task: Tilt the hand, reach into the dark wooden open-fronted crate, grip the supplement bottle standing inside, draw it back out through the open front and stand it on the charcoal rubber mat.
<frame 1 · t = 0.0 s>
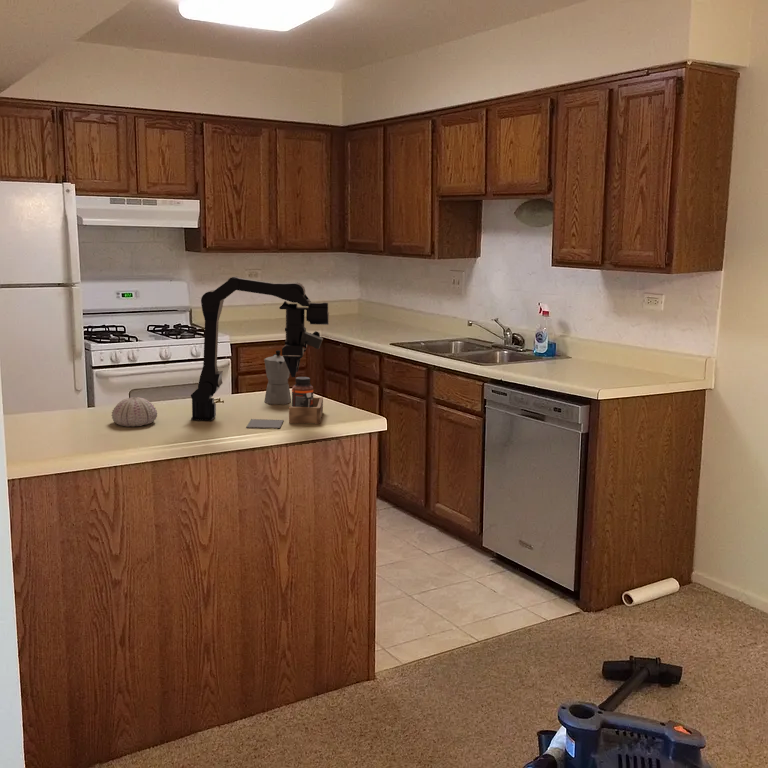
hand: (294, 374, 258), 15 cm above the table, tool pointing down, fingers open, 9 cm apart
crate: (306, 417, 265), on the table
mat: (265, 424, 254), on the table
sea urchin shell: (134, 424, 252), on the table
supplement bottle: (302, 418, 265), resting in crate
coffeepot: (277, 402, 288), on the table
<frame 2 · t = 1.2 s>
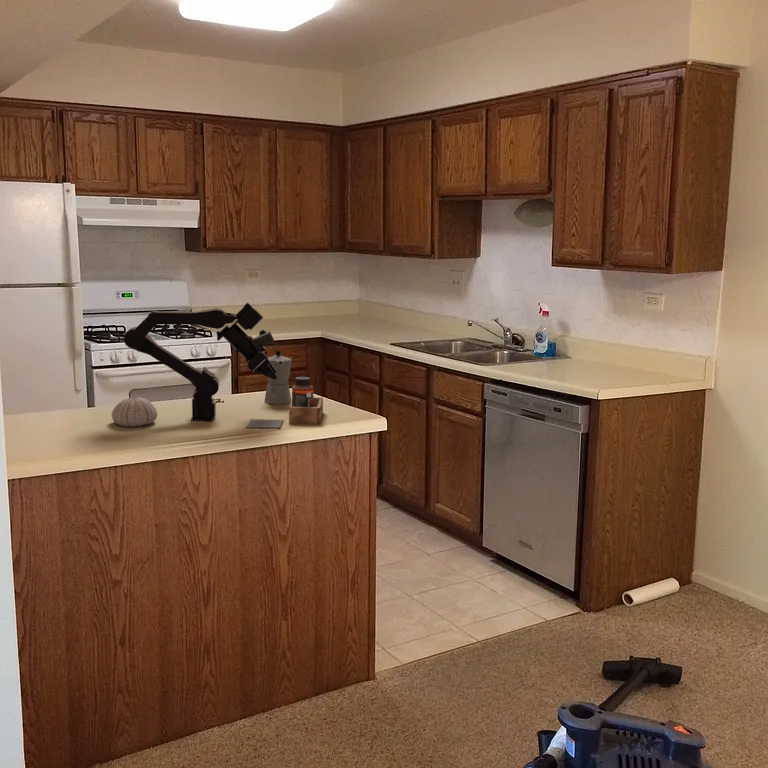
hand: (275, 376, 261), 13 cm above the table, tool tilted 45°, fingers open, 9 cm apart
nothing on the table moved.
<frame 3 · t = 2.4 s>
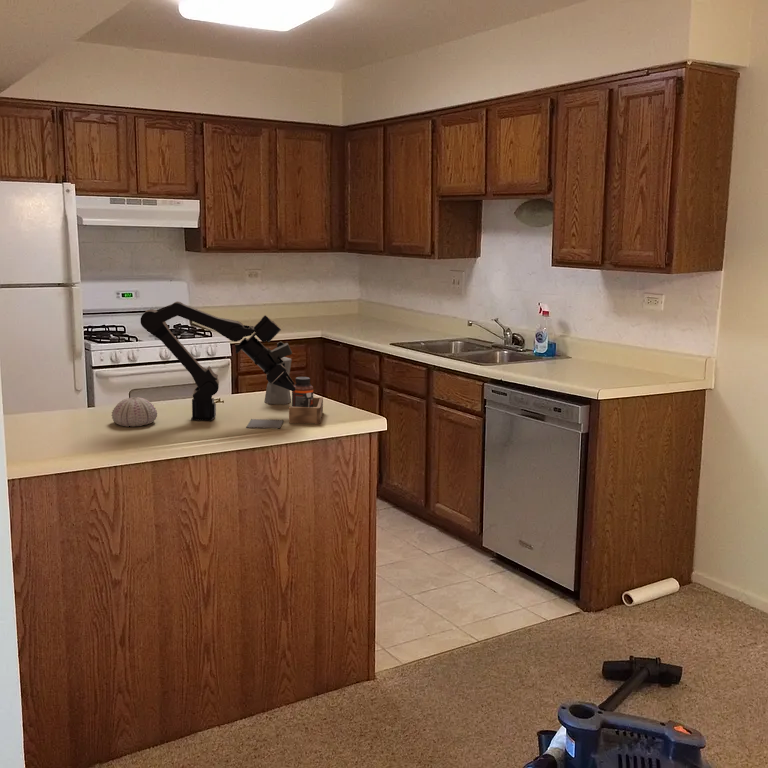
hand: (293, 387, 263), 10 cm above the table, tool tilted 45°, fingers open, 9 cm apart
nothing on the table moved.
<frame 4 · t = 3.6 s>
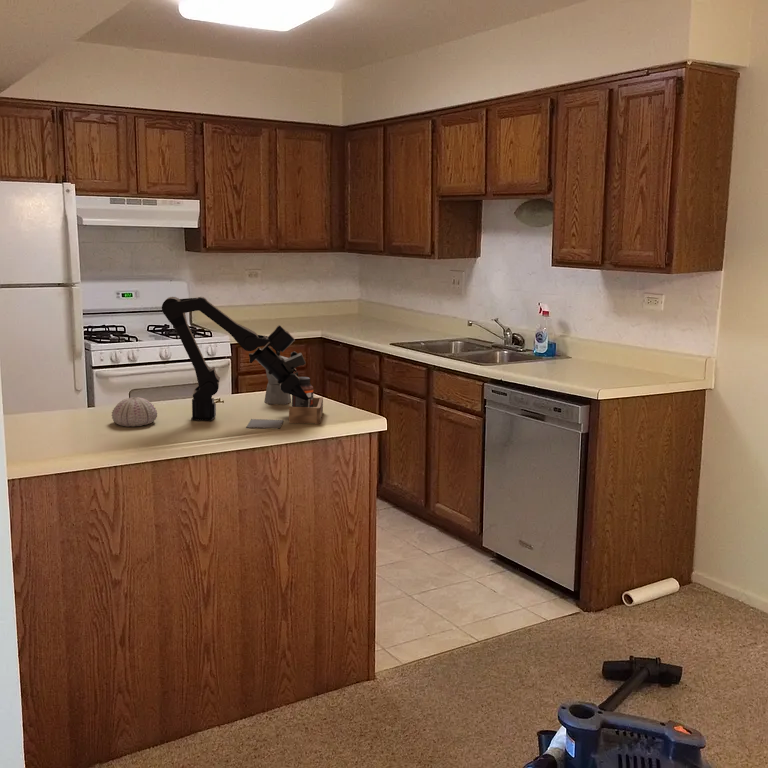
hand: (307, 397, 264), 7 cm above the table, tool tilted 45°, fingers closed on supplement bottle, 7 cm apart
supplement bottle: (302, 418, 265), resting in crate, touching gripper
everything else where it was.
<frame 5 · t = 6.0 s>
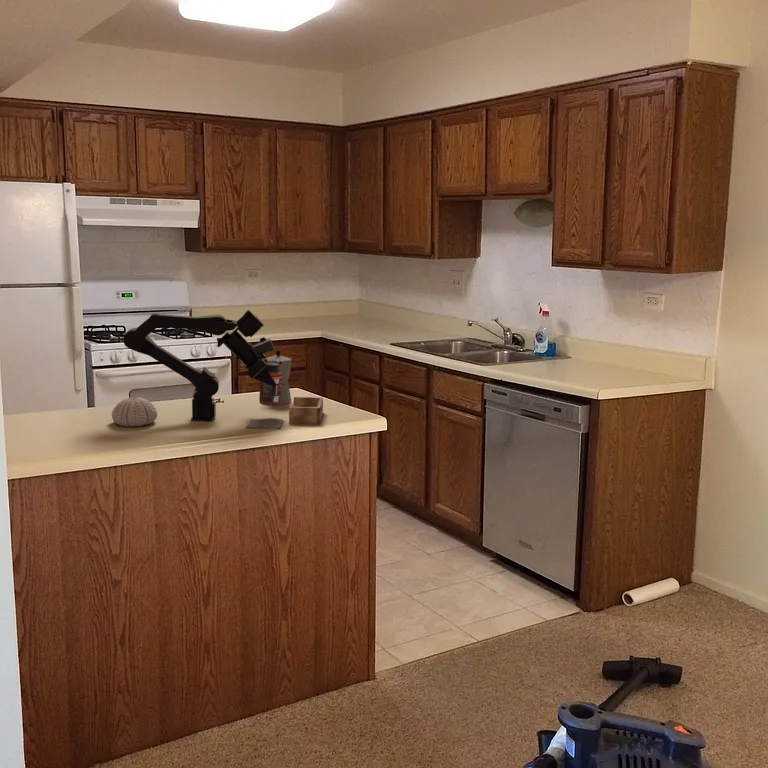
hand: (275, 383, 262), 11 cm above the table, tool tilted 45°, fingers closed on supplement bottle, 7 cm apart
supplement bottle: (270, 404, 263), point 4 cm above the table, touching gripper
everything else where it was.
when the fingers open (8 cm above the table, at t = 8.1 s): supplement bottle stays where it is, resting on mat.
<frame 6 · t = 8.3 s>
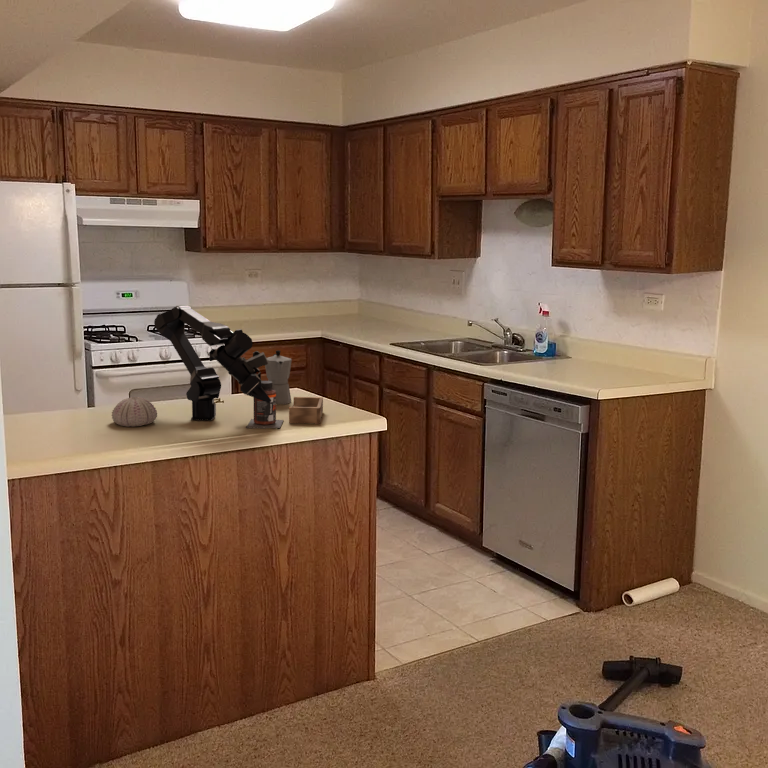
hand: (269, 398, 253), 8 cm above the table, tool tilted 45°, fingers open, 9 cm apart
supplement bottle: (264, 423, 254), resting on mat
everything else where it was.
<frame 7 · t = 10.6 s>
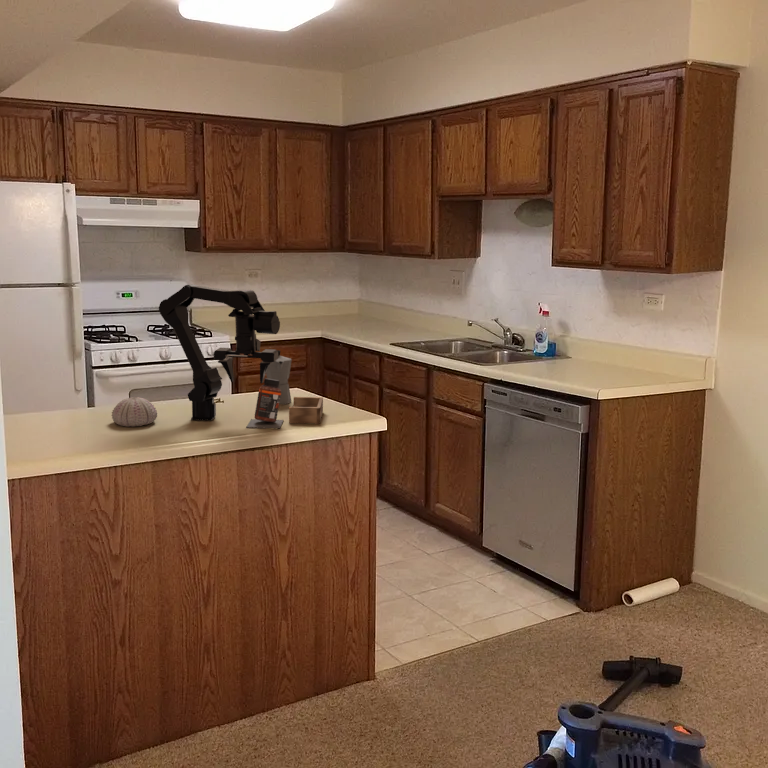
hand: (246, 382, 254), 13 cm above the table, tool pointing down, fingers open, 9 cm apart
supplement bottle: (264, 421, 254), point 1 cm above the table, touching gripper, mat
everything else where it was.
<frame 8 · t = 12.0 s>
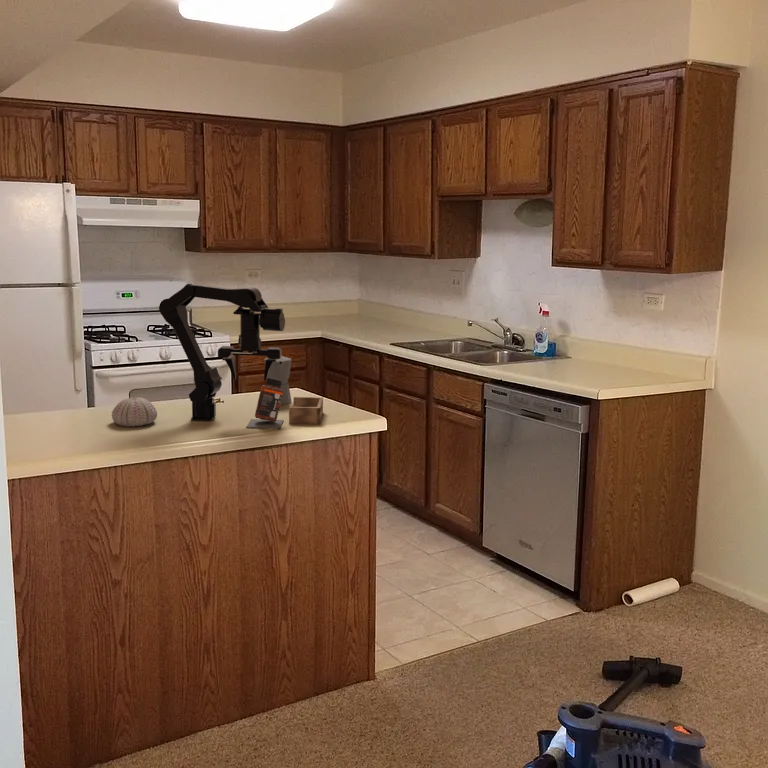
hand: (250, 380, 255), 13 cm above the table, tool pointing down, fingers open, 9 cm apart
at the end: supplement bottle inside the target area (0.1 cm from its centre), point 1.2 cm above the table; supplement bottle tilted 17°; the gripper is holding nothing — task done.
